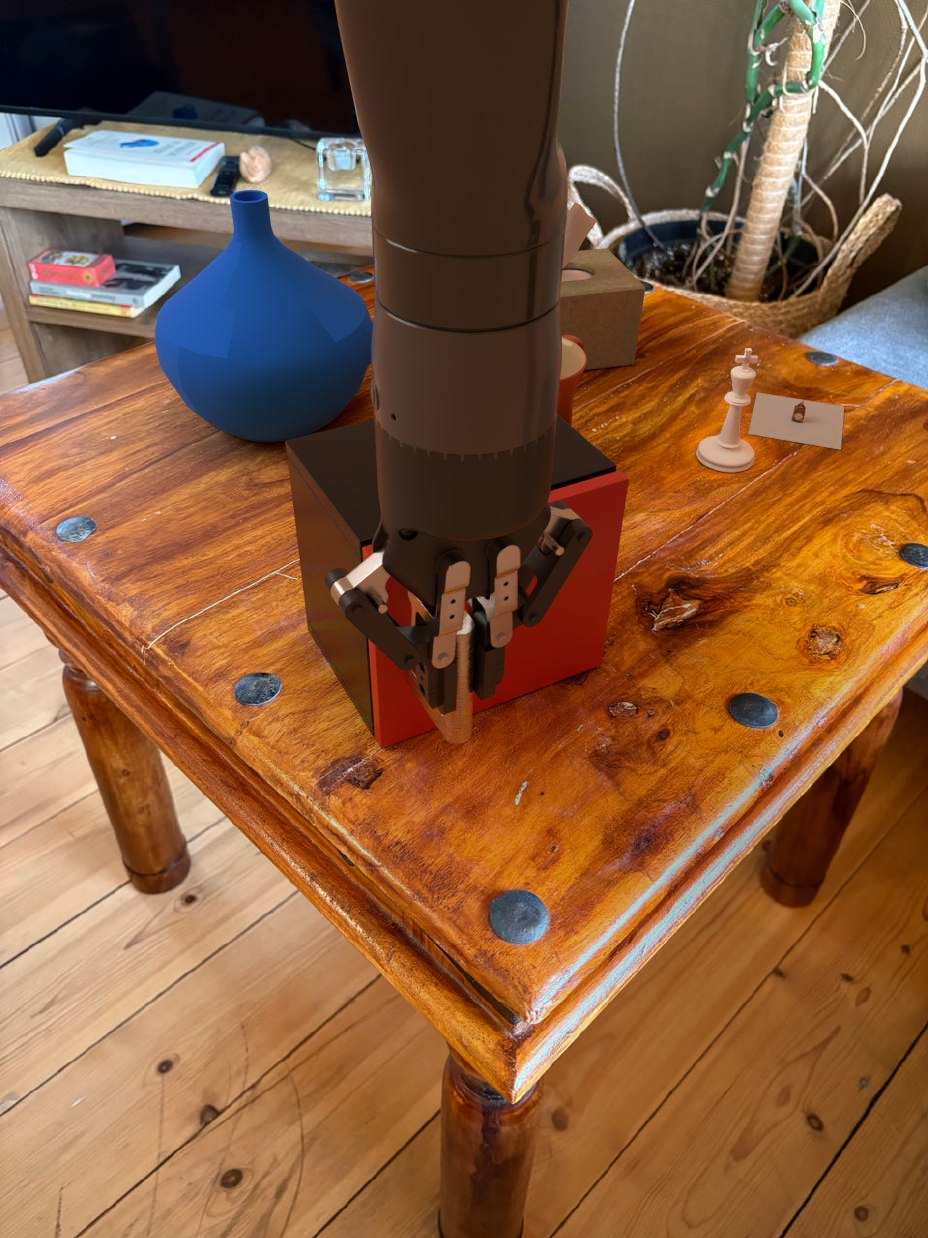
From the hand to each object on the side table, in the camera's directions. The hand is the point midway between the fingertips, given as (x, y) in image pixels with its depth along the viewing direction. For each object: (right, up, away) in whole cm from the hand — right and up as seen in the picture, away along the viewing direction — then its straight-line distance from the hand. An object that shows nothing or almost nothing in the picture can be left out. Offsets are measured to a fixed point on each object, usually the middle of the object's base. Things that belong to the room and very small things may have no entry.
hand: (460, 694), depth 52 cm
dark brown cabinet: (-1, +2, +16) cm, 16 cm away
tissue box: (+7, +30, +48) cm, 57 cm away
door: (+3, -3, +9) cm, 10 cm away
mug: (+6, +17, +33) cm, 38 cm away
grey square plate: (+31, +22, +39) cm, 54 cm away
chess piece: (+23, +18, +34) cm, 44 cm away
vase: (-17, +22, +38) cm, 47 cm away
